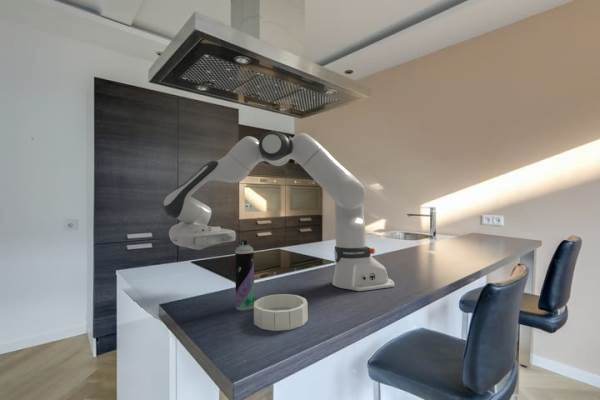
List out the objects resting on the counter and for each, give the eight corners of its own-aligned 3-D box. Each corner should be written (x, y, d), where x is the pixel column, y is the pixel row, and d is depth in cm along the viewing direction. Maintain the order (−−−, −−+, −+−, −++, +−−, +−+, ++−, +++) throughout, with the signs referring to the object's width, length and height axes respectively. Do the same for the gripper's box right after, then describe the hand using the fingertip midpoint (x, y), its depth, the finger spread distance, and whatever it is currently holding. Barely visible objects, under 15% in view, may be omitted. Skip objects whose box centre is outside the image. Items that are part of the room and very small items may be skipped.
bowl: (303, 308, 87) (303, 292, 87) (310, 328, 73) (310, 309, 73) (255, 311, 85) (254, 295, 85) (253, 332, 71) (252, 313, 71)
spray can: (236, 311, 85) (235, 241, 85) (235, 305, 90) (234, 239, 91) (255, 309, 87) (254, 240, 87) (253, 303, 92) (252, 238, 92)
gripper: (169, 230, 98) (190, 232, 89) (222, 226, 114) (244, 227, 104) (169, 249, 98) (190, 253, 89) (222, 242, 113) (244, 245, 104)
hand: (220, 239), depth 97 cm, fingers open, 8 cm apart
